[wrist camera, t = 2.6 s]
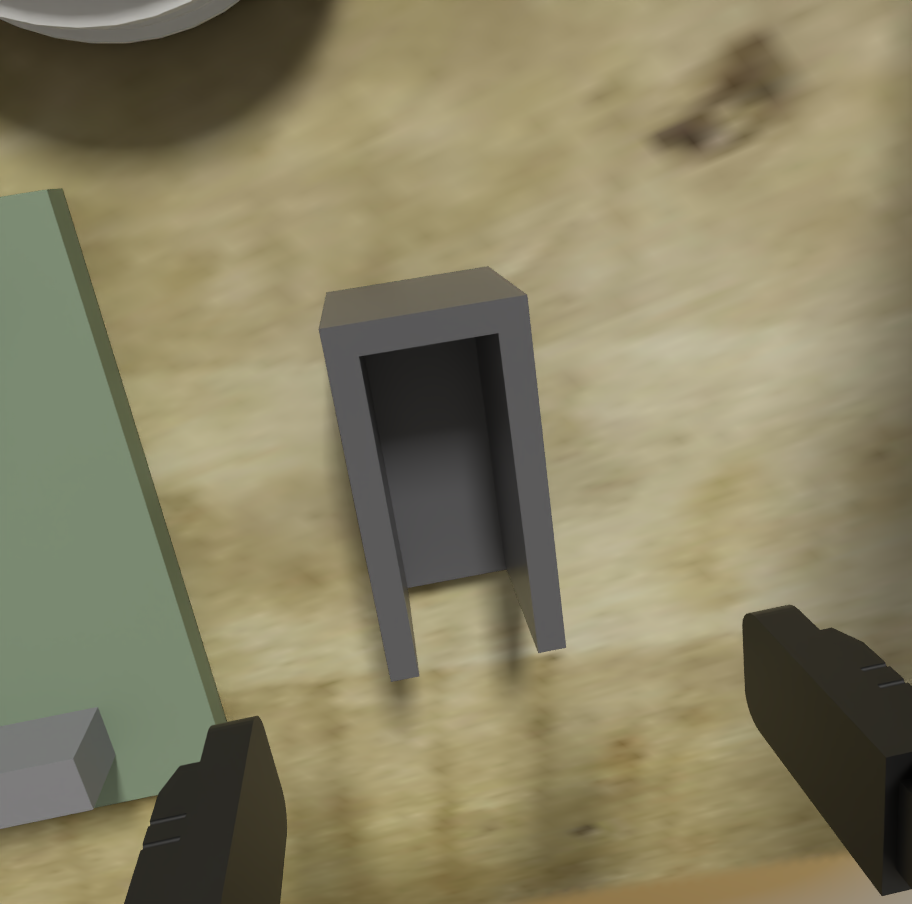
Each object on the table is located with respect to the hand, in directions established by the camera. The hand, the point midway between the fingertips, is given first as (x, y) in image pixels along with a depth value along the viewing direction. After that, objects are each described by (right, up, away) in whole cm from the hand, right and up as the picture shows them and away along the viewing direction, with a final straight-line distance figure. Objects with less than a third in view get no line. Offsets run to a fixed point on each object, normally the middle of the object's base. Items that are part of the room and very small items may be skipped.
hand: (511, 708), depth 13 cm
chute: (-2, +5, +13) cm, 14 cm away
